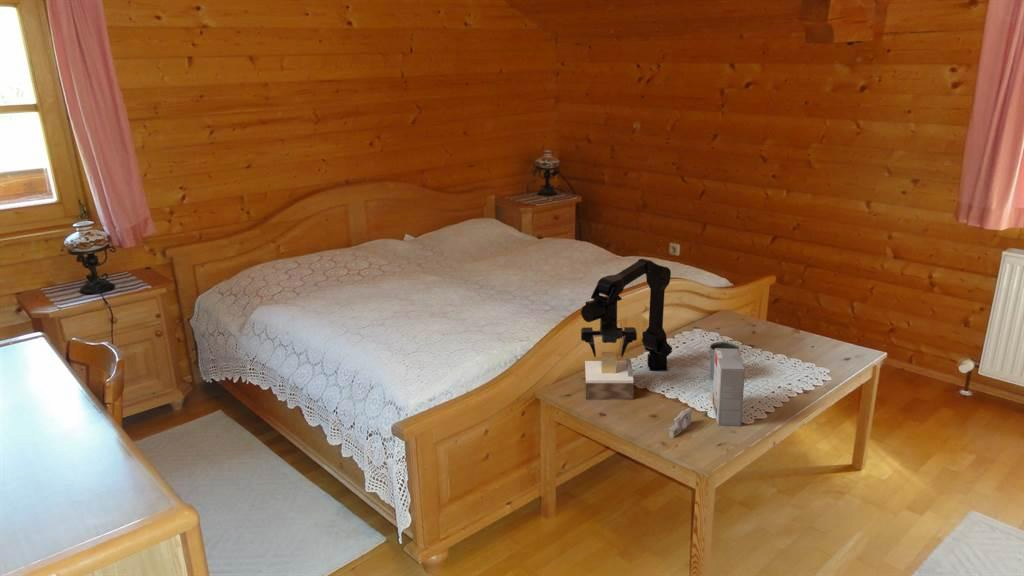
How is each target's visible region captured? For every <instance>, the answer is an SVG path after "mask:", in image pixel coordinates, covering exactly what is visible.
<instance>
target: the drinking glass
mask: <svg viewBox="0 0 1024 576" xmlns="http://www.w3.org/2000/svg"><path fill="white" fill-rule="evenodd" d="M715 348H726V349H738V350H739V351H740V347H739V345H737V344H735V343H731V342H728V341H726V342H725V341H717V342H714V343H711V344H710V345H709V354H710V355H709V357H710V358H709V359H710V364H709V365H710V368H709V369H710V370H709V371H710V372H709V373H710V379H711V380H712V381H714V360H715Z"/></svg>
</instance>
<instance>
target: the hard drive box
mask: <svg viewBox="0 0 1024 576" xmlns="http://www.w3.org/2000/svg"><path fill="white" fill-rule="evenodd" d="M745 372H746V368H745V365H744V362H743V360H742V356H741V353H740V349H739V350H738V349H726V348H715V360H714V381H713V380H712V381H713V383H712V384H713V386H712V405H713V407H712V408H713V410H714V417H715V419H716V424H717V425H718V426H729V427H730V426H732V427H733V426H734V427H737V426H738V427H741V426H742V424H743V423H742V421H743V420H742V419H743V408H744V407H743V405H744V391H745V377H746V376H745V375H746V374H745Z"/></svg>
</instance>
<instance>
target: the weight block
mask: <svg viewBox="0 0 1024 576" xmlns="http://www.w3.org/2000/svg"><path fill="white" fill-rule="evenodd" d="M600 356H601V359H600V361H601V372H602V373H609V374H616V361H617V353H616V351H601V352H600Z"/></svg>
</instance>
